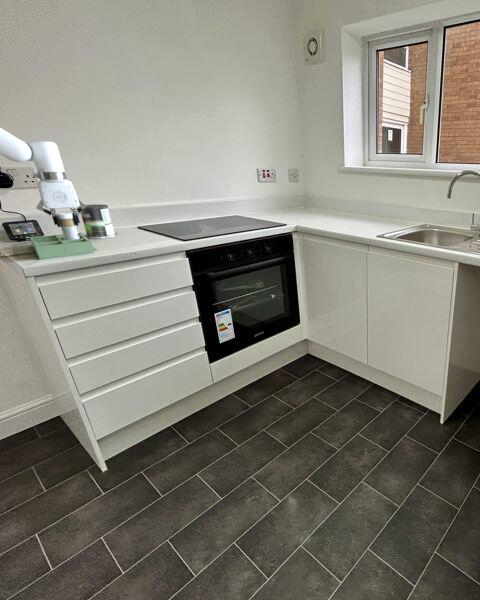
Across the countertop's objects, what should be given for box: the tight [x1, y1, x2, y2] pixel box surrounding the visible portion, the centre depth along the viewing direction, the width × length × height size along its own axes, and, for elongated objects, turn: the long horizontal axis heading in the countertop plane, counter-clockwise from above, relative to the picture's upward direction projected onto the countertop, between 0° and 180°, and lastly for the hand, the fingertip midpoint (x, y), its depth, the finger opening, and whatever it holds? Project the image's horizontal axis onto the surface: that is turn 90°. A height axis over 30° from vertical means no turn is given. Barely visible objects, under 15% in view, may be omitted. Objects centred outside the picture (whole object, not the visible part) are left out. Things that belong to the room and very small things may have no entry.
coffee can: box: [78, 204, 116, 240], centre depth 161 cm, size 10×10×14 cm
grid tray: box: [29, 232, 95, 260], centre depth 138 cm, size 15×23×5 cm
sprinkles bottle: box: [56, 212, 79, 240], centre depth 138 cm, size 5×5×14 cm
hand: (68, 225), depth 137 cm, fingers closed on sprinkles bottle, 4 cm apart
